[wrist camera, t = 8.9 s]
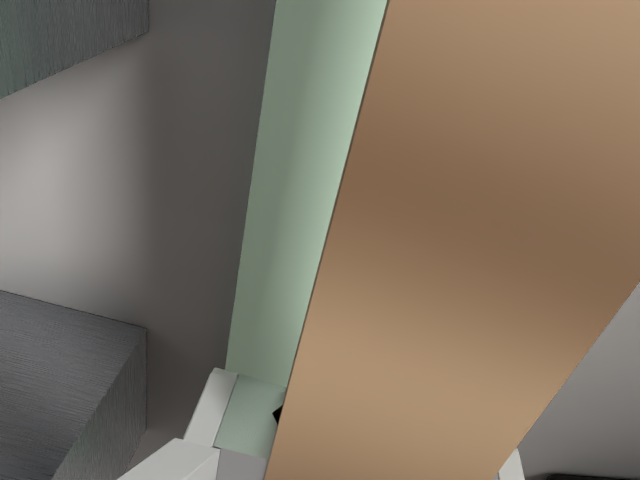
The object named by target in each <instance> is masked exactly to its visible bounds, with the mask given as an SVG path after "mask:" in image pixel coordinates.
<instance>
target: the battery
mask: <svg viewBox="0 0 640 480" xmlns="http://www.w3.org/2000/svg"><path fill="white" fill-rule="evenodd" d="M547 480H618V479H605V478H592V477H579V476H565V475H553V476H550V477H548V478H547Z"/></svg>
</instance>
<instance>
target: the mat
mask: <svg viewBox="0 0 640 480" xmlns="http://www.w3.org/2000/svg"><path fill="white" fill-rule="evenodd" d="M386 3H387V0H276V6H275V13H274V20H273V28H272V35H271V42H270V49H269V56H268V63H267V70H266V78H265V85H264V92H263V99H262V106H261V113H260V121H259V128H258V135H257V142H256V149H255V156H254V163H253V171H252V178H251V185H250V192H249V199H248V206H247V213H246V221H245V228H244V235H243V242H242V249H241V256H240V264H239V271H238V278H237V285H236V292H235V299H234V306H233V314H232V321H231V328H230V335H229V342H228V349H227V357H226V364H225V370H227V371H231V372H235V373H238V374H242V375H246V376H249V377H253V378H256V379H260V380H263V381H267V382H270V383H274V384H277V385H281V386H284V387H287V384H288V380H289V376H290V373H291V369H292V365H293V361H294V357H295V353H296V350H297V346H298V342H299V338H300V334H301V330H302V326H303V323H304V319H305V315H306V311H307V307H308V303H309V299H310V296H311V292H312V288H313V284H314V280H315V276H316V272H317V269H318V265H319V261H320V257H321V253H322V249H323V245H324V242H325V238H326V234H327V230H328V226H329V222H330V218H331V215H332V211H333V207H334V203H335V199H336V195H337V191H338V188H339V184H340V180H341V176H342V172H343V168H344V164H345V161H346V157H347V153H348V149H349V145H350V141H351V137H352V134H353V130H354V126H355V122H356V118H357V114H358V110H359V107H360V103H361V99H362V95H363V91H364V87H365V84H366V80H367V76H368V72H369V68H370V64H371V60H372V57H373V53H374V49H375V45H376V41H377V37H378V33H379V30H380V26H381V22H382V18H383V14H384V10H385V6H386Z"/></svg>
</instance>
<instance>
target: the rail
mask: <svg viewBox="0 0 640 480" xmlns="http://www.w3.org/2000/svg"><path fill="white" fill-rule="evenodd" d="M639 282H640V0H387V3H386V6H385V10H384V14H383V18H382V22H381V26H380V30H379V33H378V37H377V41H376V45H375V49H374V53H373V57H372V60H371V64H370V68H369V72H368V76H367V80H366V84H365V87H364V91H363V95H362V99H361V103H360V107H359V110H358V114H357V118H356V122H355V126H354V130H353V134H352V137H351V141H350V145H349V149H348V153H347V157H346V161H345V164H344V168H343V172H342V176H341V180H340V184H339V188H338V191H337V195H336V199H335V203H334V207H333V211H332V215H331V218H330V222H329V226H328V230H327V234H326V238H325V242H324V245H323V249H322V253H321V257H320V261H319V265H318V269H317V272H316V276H315V280H314V284H313V288H312V292H311V296H310V299H309V303H308V307H307V311H306V315H305V319H304V323H303V326H302V330H301V334H300V338H299V342H298V346H297V350H296V353H295V357H294V361H293V365H292V369H291V373H290V376H289V380H288V384H287V390H286V394H285V398H284V402H283V406H282V410H281V414H280V417H279V421H278V426H277V430H276V434H275V438H274V442H273V446H272V450H271V454H270V458H269V462H268V466H267V470H266V474H265V477H264V480H492V479H493V478H494V477H495V475H496V474H497V473H498V471H499V470H500V469H501V467H502V466H503V465H504V463H505V462H506V461H507V459H508V458H509V456H510V455H511V454H512V452H513V451H514V450H515V448H516V447H517V446H518V444H519V443H520V442H521V440H522V439H523V438H524V436H525V435H526V434H527V432H528V431H529V430H530V428H531V427H532V426H533V424H534V423H535V422H536V420H537V419H538V418H539V416H540V415H541V413H542V412H543V411H544V409H545V408H546V407H547V405H548V404H549V403H550V401H551V400H552V399H553V397H554V396H555V395H556V393H557V392H558V391H559V389H560V388H561V387H562V385H563V384H564V383H565V381H566V380H567V379H568V377H569V376H570V375H571V373H572V372H573V370H574V369H575V368H576V366H577V365H578V364H579V362H580V361H581V360H582V358H583V357H584V356H585V354H586V353H587V352H588V350H589V349H590V348H591V346H592V345H593V344H594V342H595V341H596V340H597V338H598V337H599V336H600V334H601V333H602V332H603V330H604V329H605V327H606V326H607V325H608V323H609V322H610V321H611V319H612V318H613V317H614V315H615V314H616V313H617V311H618V310H619V309H620V307H621V306H622V305H623V303H624V302H625V301H626V299H627V298H628V297H629V295H630V294H631V293H632V291H633V290H634V288H635V287H636V286H637V284H638V283H639Z"/></svg>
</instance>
